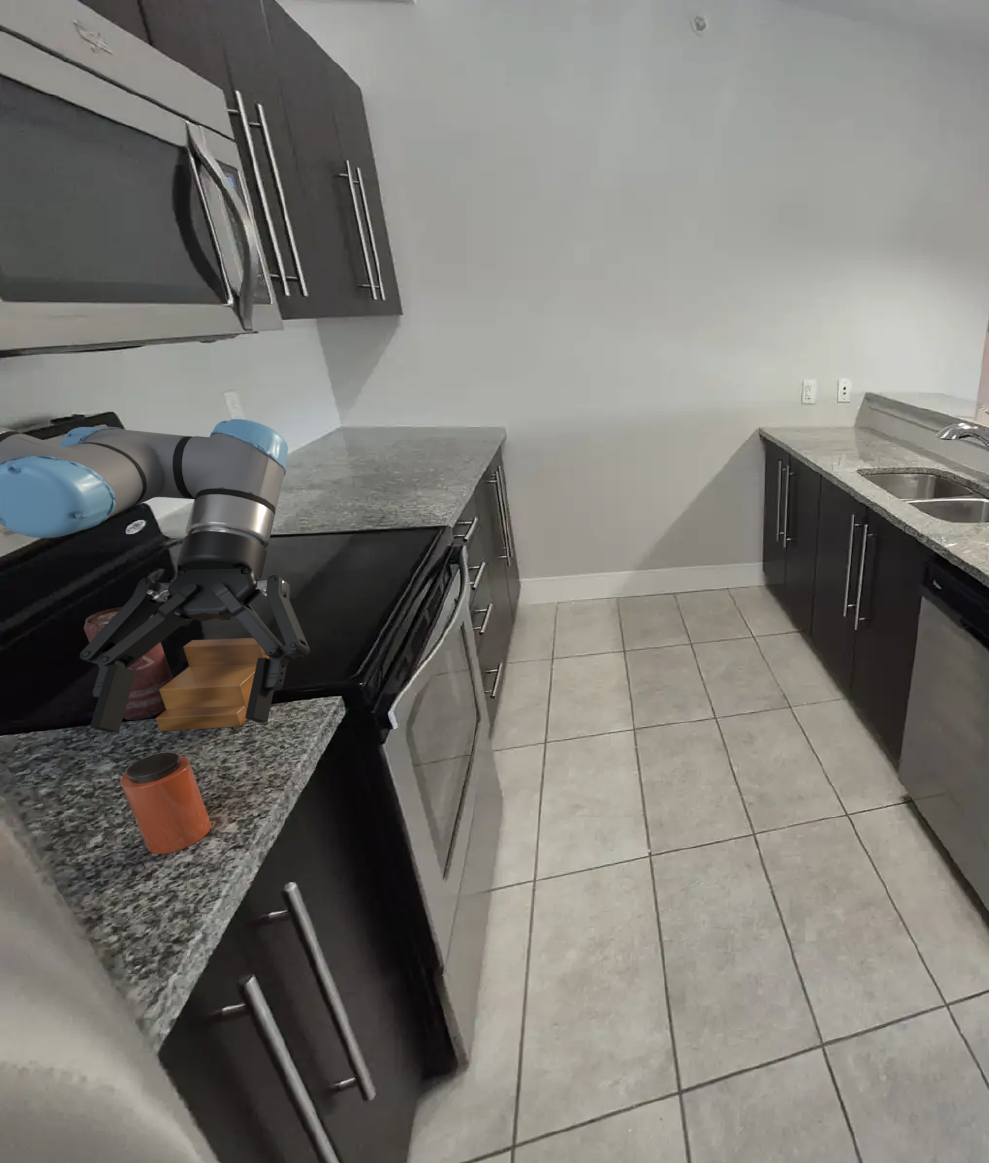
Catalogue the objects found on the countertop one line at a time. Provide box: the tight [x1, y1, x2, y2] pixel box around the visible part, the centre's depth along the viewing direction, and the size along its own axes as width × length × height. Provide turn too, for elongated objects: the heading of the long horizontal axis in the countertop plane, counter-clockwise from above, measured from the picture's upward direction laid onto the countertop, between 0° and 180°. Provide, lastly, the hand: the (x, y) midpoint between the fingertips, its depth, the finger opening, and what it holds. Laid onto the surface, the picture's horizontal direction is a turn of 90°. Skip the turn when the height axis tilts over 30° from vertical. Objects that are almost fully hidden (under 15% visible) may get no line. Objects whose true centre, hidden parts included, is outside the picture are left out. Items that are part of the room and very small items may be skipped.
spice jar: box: [119, 752, 212, 855], centre depth 64 cm, size 5×5×9 cm
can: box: [83, 606, 174, 721], centre depth 83 cm, size 6×6×14 cm
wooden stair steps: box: [155, 637, 269, 732], centre depth 85 cm, size 9×10×8 cm
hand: (181, 725), depth 66 cm, fingers open, 13 cm apart
